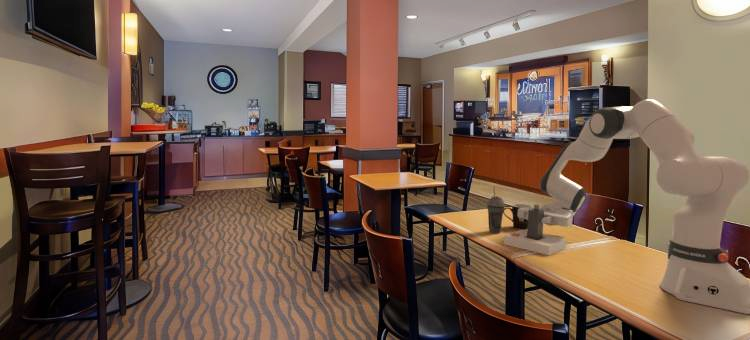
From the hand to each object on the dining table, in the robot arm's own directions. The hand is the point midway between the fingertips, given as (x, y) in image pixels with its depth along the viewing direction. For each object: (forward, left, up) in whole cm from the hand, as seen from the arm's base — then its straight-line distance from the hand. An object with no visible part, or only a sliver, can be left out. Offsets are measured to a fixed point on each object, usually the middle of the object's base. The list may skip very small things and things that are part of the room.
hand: (534, 219), depth 165 cm
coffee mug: (+19, -23, -11) cm, 31 cm away
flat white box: (0, -1, -11) cm, 11 cm away
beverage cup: (+21, -7, -11) cm, 24 cm away
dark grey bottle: (0, -1, -7) cm, 8 cm away
